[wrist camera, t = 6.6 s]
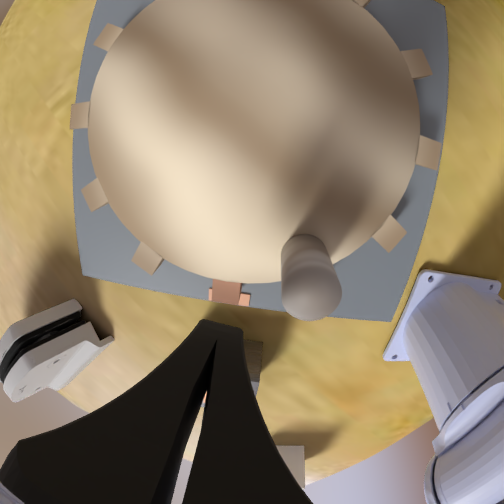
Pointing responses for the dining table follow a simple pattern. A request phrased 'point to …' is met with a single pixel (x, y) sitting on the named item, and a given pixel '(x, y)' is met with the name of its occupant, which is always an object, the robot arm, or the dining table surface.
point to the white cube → (294, 462)
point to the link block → (251, 363)
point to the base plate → (347, 269)
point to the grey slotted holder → (47, 350)
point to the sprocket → (255, 140)
